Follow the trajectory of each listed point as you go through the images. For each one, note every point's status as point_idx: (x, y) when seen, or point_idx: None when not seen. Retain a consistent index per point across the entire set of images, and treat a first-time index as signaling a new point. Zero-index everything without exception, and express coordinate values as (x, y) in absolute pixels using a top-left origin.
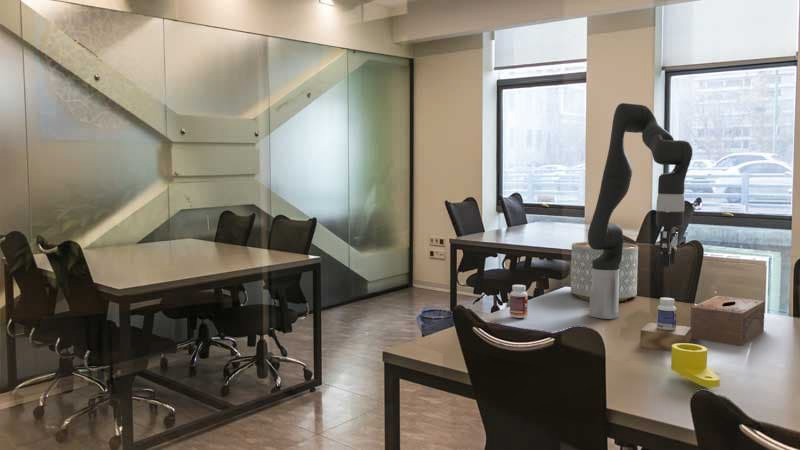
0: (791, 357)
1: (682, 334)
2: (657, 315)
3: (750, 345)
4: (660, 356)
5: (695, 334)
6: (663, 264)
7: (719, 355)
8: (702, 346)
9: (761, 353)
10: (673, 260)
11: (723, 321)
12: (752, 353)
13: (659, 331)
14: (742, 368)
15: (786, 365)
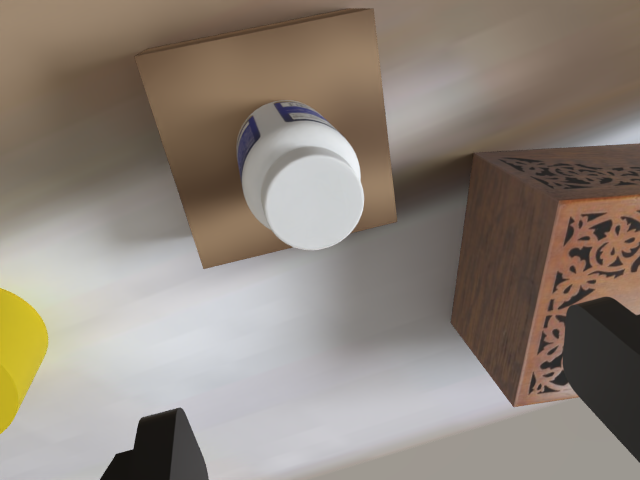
0: (395, 449)
1: (215, 253)
2: (261, 124)
3: None
4: (66, 190)
5: (480, 179)
6: (115, 476)
7: (269, 326)
8: (8, 417)
9: (390, 391)
10: (590, 396)
11: (501, 315)
12: (372, 376)
13: (188, 151)
14: None
15: (293, 471)
